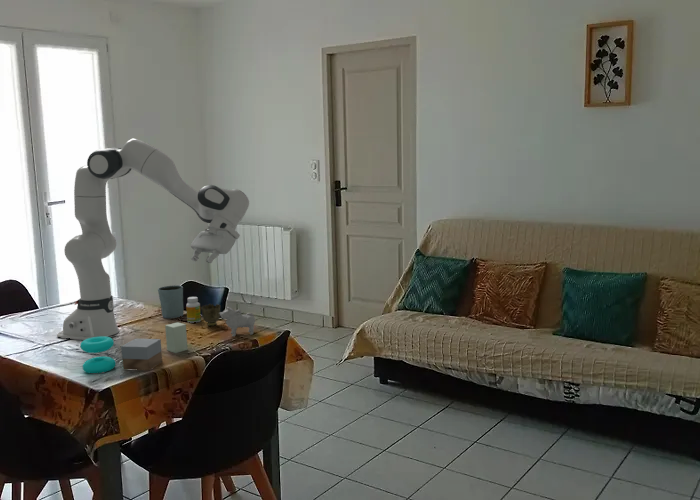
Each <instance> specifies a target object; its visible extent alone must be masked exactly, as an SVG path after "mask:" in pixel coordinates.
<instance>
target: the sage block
mask: <svg viewBox="0 0 700 500" xmlns="http://www.w3.org/2000/svg"><path fill="white" fill-rule="evenodd" d="M164 330H165V338H166V351H168V352H171V353H173V354H177V353H181V352H184V351H188V349H189V348H188V337H187V336H188V335H187V324H186V323H181V322H173V323H168V324H165V329H164Z"/></svg>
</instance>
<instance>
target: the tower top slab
mask: <svg viewBox="0 0 700 500" xmlns="http://www.w3.org/2000/svg"><path fill="white" fill-rule="evenodd" d="M120 349H121V359H122V360H123V359H147V360H148V359H149V358H151V357H153V356H154V355H156V354H158V353H159V352H161V351H162V339H160V338H134V339H131V340H130V341H129V342H127V343H125V344H123V345H121V346H120ZM162 352H163V351H162Z"/></svg>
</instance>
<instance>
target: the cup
mask: <svg viewBox="0 0 700 500" xmlns="http://www.w3.org/2000/svg"><path fill="white" fill-rule="evenodd" d="M220 304H221V303H220ZM220 304H218V303H216V304H215V305H214V304H213V303H209V304H205V305H202V306H200V310H201V313H202V315H201V316H202V318H203V320H204V322H206V323H207V326H208V327H215V326H216V325H217V324H218V323H217V322H218V321H219V319H220V318H221V316H220V314H219V313H220V312H221V305H220Z"/></svg>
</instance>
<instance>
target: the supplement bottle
mask: <svg viewBox="0 0 700 500" xmlns="http://www.w3.org/2000/svg"><path fill="white" fill-rule="evenodd" d="M198 301H199V299H198V297H197V296H189V297H187V303H186V306H185V308H186V320H187V323H189V322H190V324H195V323H194V322H196V323H200V322H201V321H202V317H201V316H202V315H201V313H202V311H201V303H200V302H198Z"/></svg>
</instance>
